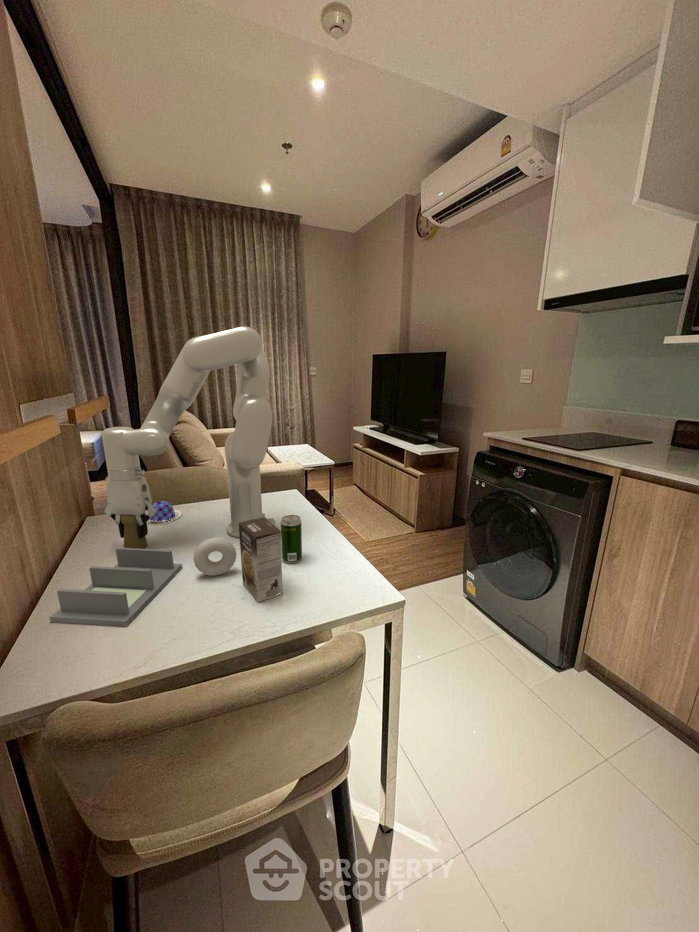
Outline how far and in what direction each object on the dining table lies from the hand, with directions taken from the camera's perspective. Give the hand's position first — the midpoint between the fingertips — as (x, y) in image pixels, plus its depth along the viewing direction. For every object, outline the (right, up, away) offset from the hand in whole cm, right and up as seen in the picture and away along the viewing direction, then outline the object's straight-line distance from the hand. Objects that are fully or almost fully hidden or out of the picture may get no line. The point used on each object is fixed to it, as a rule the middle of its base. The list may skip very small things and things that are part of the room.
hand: (134, 535), depth 104 cm
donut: (+27, -8, -11) cm, 30 cm away
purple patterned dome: (-3, +2, +22) cm, 22 cm away
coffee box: (+40, -10, -17) cm, 44 cm away
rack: (+9, -9, -19) cm, 23 cm away
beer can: (+45, -6, -4) cm, 45 cm away
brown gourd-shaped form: (0, -4, +1) cm, 4 cm away
